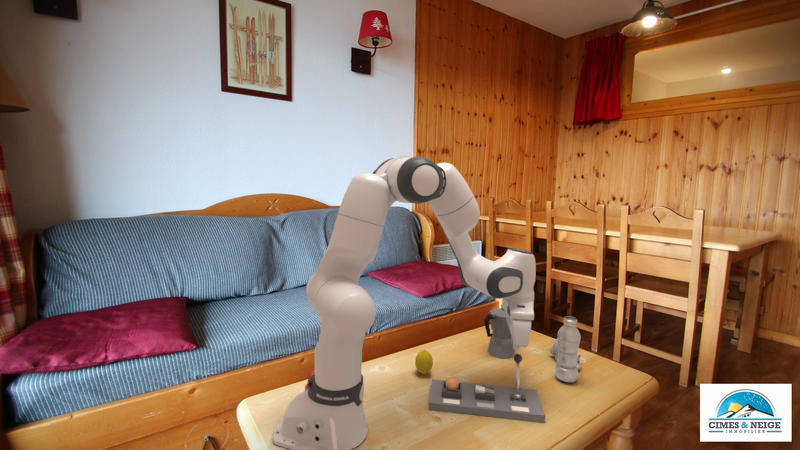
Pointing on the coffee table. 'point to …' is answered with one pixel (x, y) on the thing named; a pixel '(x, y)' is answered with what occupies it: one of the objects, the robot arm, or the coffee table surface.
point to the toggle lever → (517, 374)
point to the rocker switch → (483, 390)
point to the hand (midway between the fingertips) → (515, 347)
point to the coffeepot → (499, 334)
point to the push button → (452, 383)
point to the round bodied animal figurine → (555, 352)
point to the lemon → (424, 362)
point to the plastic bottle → (568, 351)
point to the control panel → (486, 401)
